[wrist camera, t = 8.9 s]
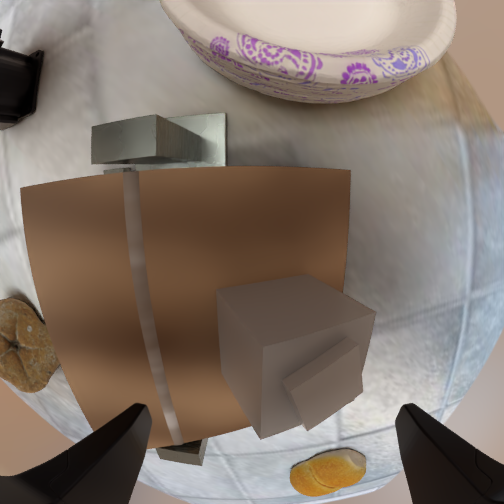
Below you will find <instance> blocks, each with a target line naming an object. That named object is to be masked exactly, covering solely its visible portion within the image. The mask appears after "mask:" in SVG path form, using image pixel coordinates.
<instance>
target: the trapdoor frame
mask: <svg viewBox="0 0 504 504" xmlns="http://www.w3.org/2000/svg"><path fill="white" fill-rule="evenodd" d="M91 163H92V164H135V171H143V170H156V169H171V168H189V167H217V166H227V150H226V114H225V113H215V114H201V115H190V116H181V117H172V118H163V117H161V116H159V115H157V114H155V115H149V116H143V117H137V118H131V119H126V120H121V121H116V122H111V123H106V124H102V125H97V126H93V127H92V136H91ZM122 172H130V168H119V169H111V170H104V174H113V173H122ZM207 441H208V438H205V439H201V440H196V441H192V442H187V443H183V444H182V445H171V446H165V447H159V448H156V451H157V453H158V455H159V457H160V459H164V460H169V461H174V462H180V463H186V464H192V465H199V466H202V463H203V459H204V454H205V450H206V446H207Z"/></svg>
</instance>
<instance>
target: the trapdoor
mask: <svg viewBox="0 0 504 504" xmlns="http://www.w3.org/2000/svg"><path fill="white" fill-rule="evenodd" d="M350 179H351V170H341V169H327V168H308V167H280V166H217V167H189V168H171V169H156V170H143V171H131V172H122V173H113V174H104V175H96V176H88V177H81V178H74V179H67V180H61V181H55V182H49V183H44V184H38V185H33V186H28V187H23V188H20V192H21V205H22V215H23V224H24V232H25V238H26V245H27V251H28V256H29V261H30V266H31V271H32V276H33V280H34V284H35V288H36V292H37V296H38V300H39V303H40V307H41V310H42V314H43V317H44V320H45V323H46V327H47V330H48V333H49V335H50V338H51V341H52V344H53V347H54V349H55V352H56V354H57V357H58V360H59V362H60V364H61V367H62V369H63V372H64V374H65V376H66V379H67V381H68V383H69V385H70V387H71V389H72V392H73V394H74V396H75V398H76V400H77V402H78V404H79V406H80V408H81V410H82V411H83V413H84V415H85V417H86V419H87V421H88V422H89V424H90V426H91V428H92V430H93V431H96V430H97V429H99V428H100V427H102V426H103V425H104V424H106V423H107V422H109V421H110V420H112V419H113V418H115V417H116V416H117V415H119V414H120V413H122V412H123V411H124V410H126V409H127V408H129V407H130V406H131V405H133V404H134V403H142V404H146V405H147V406H148V409H149V412H150V415H151V417H152V427H151V431H150V436H149V440H148V445H147V449H152V448H159V447H165V446H171V445H182V444H183V443H187V442H192V441H196V440H201V439H205V438H209V437H213V436H217V435H221V434H225V433H229V432H233V431H236V430H240V429H243V428H246V427H250V426H252V425H251V424H250V422H249V420H248V419H247V417H246V415H245V414H244V412H243V410H242V408H241V407H240V405H239V403H238V402H237V400H236V398H235V396H234V395H233V393H232V391H231V389H230V388H229V386H228V384H227V382H226V380H225V379H224V377H223V375H222V372H221V359H220V346H219V332H218V316H217V299H216V289H220V288H227V287H233V286H239V285H246V284H252V283H258V282H264V281H270V280H276V279H282V278H287V277H293V276H299V275H304V274H309V275H311V276H313V277H315V278H316V279H318V280H320V281H322V282H324V283H325V284H327V285H329V286H331V287H333V288H334V289H336V290H338V291H340V292H341V293H343V286H344V276H345V266H346V255H347V243H348V228H349V210H350Z"/></svg>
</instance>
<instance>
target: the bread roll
mask: <svg viewBox="0 0 504 504" xmlns="http://www.w3.org/2000/svg"><path fill="white" fill-rule="evenodd" d="M365 473H366V459H365V457H364V456H362V455H361V454H360V453H358V452H356V451H353V450H350V449H339V450H334V451H328V452H324V453H322V454H319V455H317V456H315V457H313V458H311V459H309V460H308V461H304V462H301V463H299V464H297V465H296V466H295V467H293V468H292V470H291V473H290V482H291V484H292V486H293V487H294V489H295V490H297V491H298V492H299V493H301V494H303V495H307V496H313V497H314V496H321V495H325V494H329V493H332V492H335V491H337V490H339V489H341V488H342V487H347V486H350V485H353V484H355V483H357V482H359V481H360V480H361V479H362V477H363V476H364V474H365Z"/></svg>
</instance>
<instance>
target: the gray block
mask: <svg viewBox="0 0 504 504" xmlns="http://www.w3.org/2000/svg"><path fill="white" fill-rule="evenodd" d="M216 299H217V316H218V332H219V346H220V359H221V372H222V375H223V377H224V379H225V380H226V382H227V384H228V386H229V388H230V389H231V391H232V393H233V395H234V396H235V398H236V400H237V402H238V403H239V405H240V407H241V408H242V410H243V412H244V414H245V415H246V417H247V419H248V420H249V422H250V424H251V425H252V427H253V429H254V430H255V432H256V433H257V435H258V437H259V438H260V440H261V439H264V438H267V437H270V436H272V435H275V434H278V433H281V432H284V431H286V430H289V429H291V428H294V427H297V426H299V425H303V427H304V428H305V429H306V430H307V431H308V430H310V429H312V428H313V427H315V426H316V425H318V424H319V423H321V422H322V421H324V420H325V419H327V418H328V417H330V416H331V415H332V414H334V413H335V412H337V411H338V410H339V409H341V408H342V407H344V406H345V405H346V404H348V403H350V402H352V401H354V399H355V398H356V397H357V396H358V395H360V394H361V393H362V392H363V385H362V371H363V367H364V363H365V359H366V355H367V351H368V347H369V343H370V338H371V334H372V329H373V325H374V320H375V315H376V312H375V311H373V310H372V309H370V308H368V307H366V306H364V305H363V304H361V303H359V302H357V301H356V300H354V299H352V298H350V297H349V296H347V295H345V294H343V293H341V292H340V291H338V290H336V289H334V288H333V287H331V286H329V285H327V284H325V283H324V282H322V281H320V280H318V279H316V278H315V277H313V276H311V275H309V274H304V275H299V276H293V277H287V278H282V279H276V280H270V281H264V282H258V283H252V284H246V285H239V286H233V287H227V288H220V289H216Z"/></svg>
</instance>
